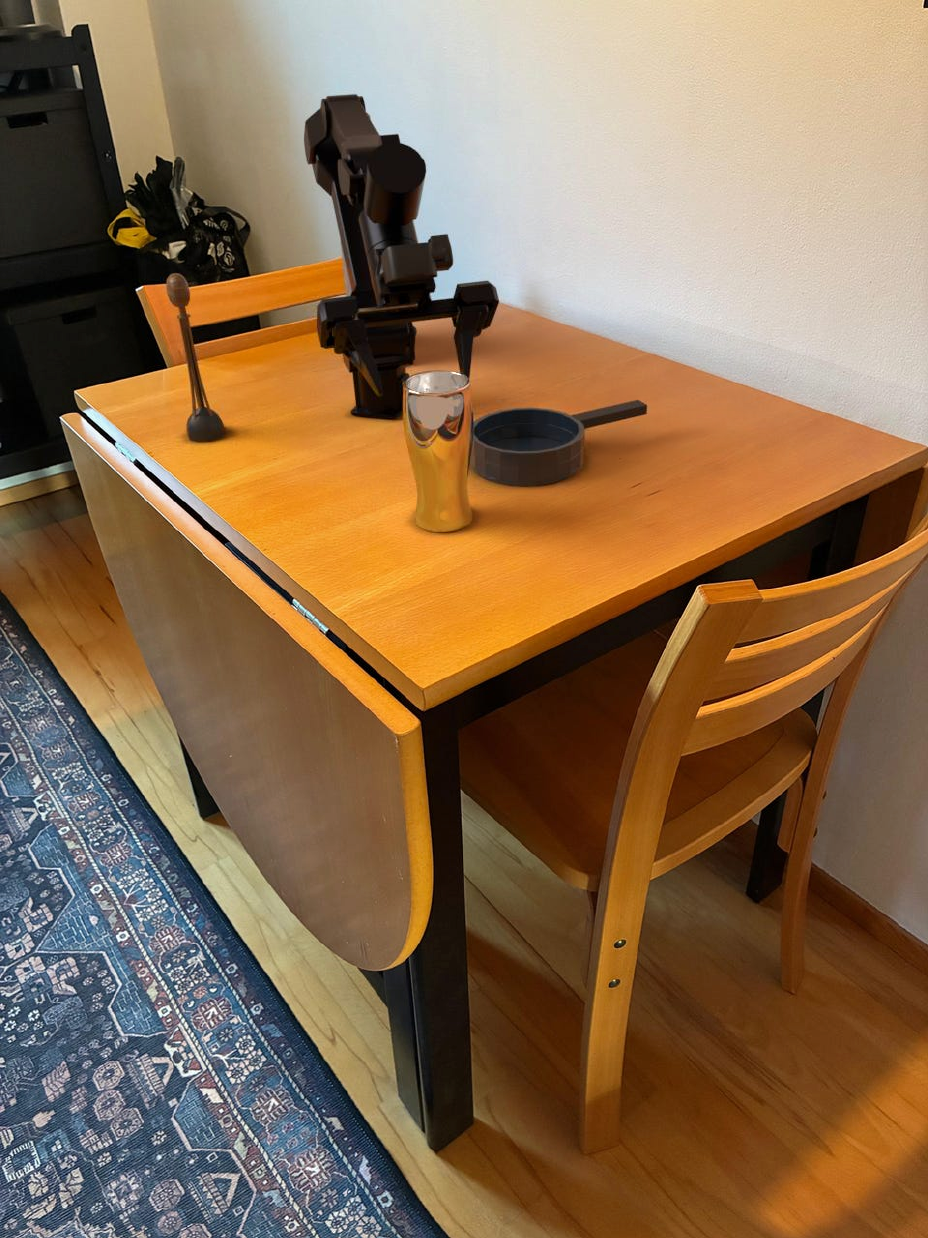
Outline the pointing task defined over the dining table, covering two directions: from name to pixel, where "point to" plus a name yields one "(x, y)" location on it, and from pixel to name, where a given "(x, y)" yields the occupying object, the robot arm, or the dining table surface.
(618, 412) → the saucepan handle
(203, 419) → the wooden tabletop sculpture
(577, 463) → the saucepan
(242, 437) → the dining table surface
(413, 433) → the chrome pilsner tumbler
